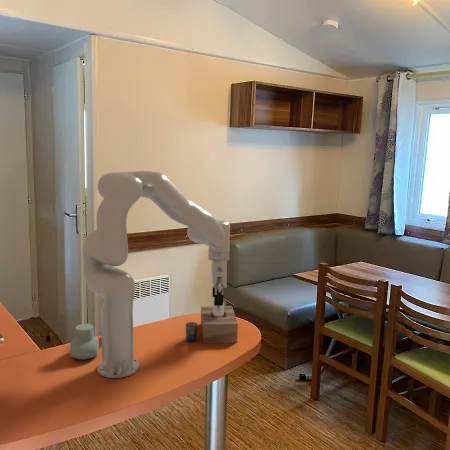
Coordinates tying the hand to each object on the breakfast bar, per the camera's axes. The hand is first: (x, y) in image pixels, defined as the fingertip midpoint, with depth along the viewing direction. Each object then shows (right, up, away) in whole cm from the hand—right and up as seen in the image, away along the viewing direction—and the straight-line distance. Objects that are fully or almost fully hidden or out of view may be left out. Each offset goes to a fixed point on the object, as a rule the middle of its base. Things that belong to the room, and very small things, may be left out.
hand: (217, 300), depth 172 cm
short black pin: (-9, -13, -4) cm, 17 cm away
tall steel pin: (0, -12, +2) cm, 12 cm away
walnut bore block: (0, -12, +3) cm, 12 cm away
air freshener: (-43, -15, -17) cm, 49 cm away
